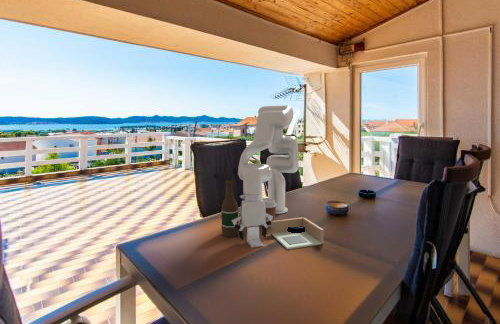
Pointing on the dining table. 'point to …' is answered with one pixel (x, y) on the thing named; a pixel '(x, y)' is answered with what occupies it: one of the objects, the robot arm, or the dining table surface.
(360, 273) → the dining table surface
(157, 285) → the dining table surface
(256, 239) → the bracket
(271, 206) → the coffee cup
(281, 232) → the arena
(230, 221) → the beer bottle
